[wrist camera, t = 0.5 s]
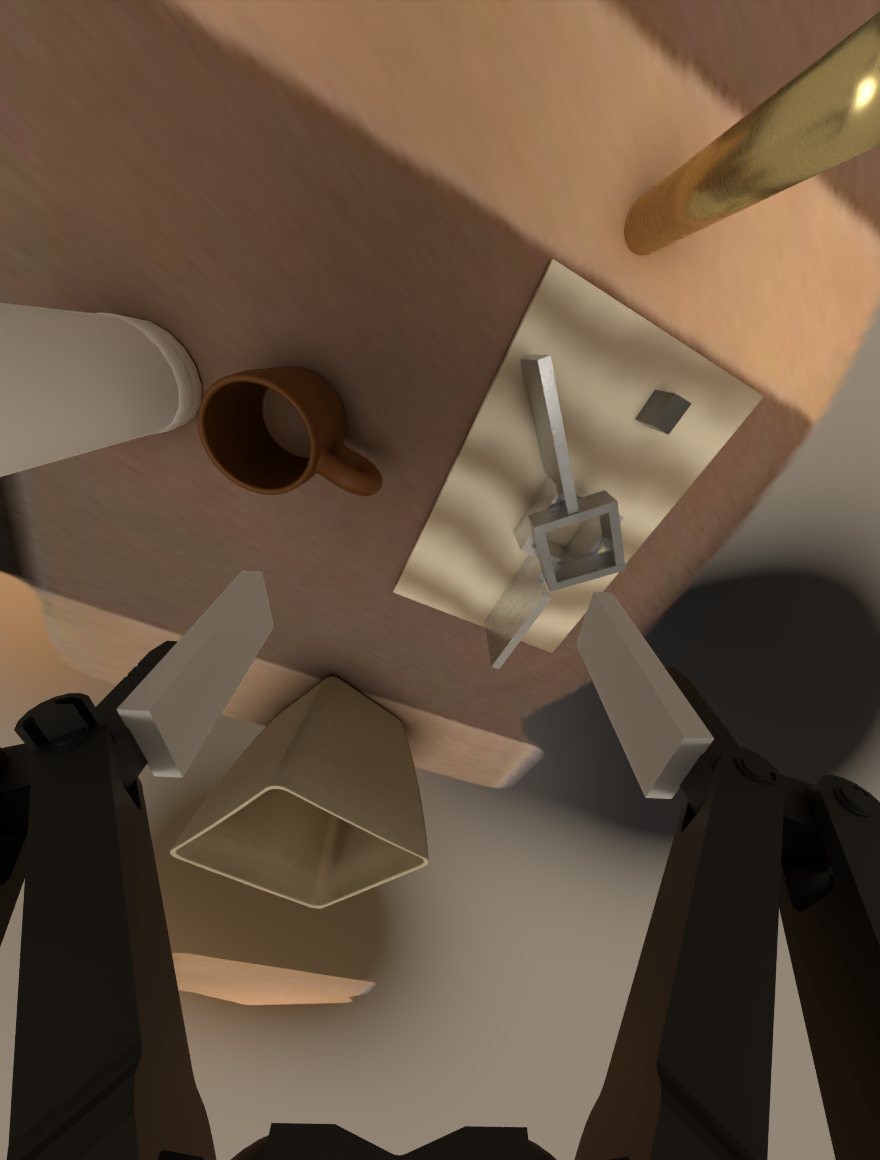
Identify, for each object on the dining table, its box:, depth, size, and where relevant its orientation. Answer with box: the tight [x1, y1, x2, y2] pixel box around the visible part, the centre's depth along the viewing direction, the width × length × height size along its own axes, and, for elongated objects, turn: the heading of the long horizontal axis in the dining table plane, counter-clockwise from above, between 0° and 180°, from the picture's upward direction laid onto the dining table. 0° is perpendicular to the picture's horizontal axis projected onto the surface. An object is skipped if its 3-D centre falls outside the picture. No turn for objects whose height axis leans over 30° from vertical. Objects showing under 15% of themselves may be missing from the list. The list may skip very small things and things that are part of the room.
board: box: [393, 259, 764, 653], centre depth 35 cm, size 30×20×1 cm, turn 155°
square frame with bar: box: [520, 355, 626, 592], centre depth 30 cm, size 17×6×6 cm, turn 20°
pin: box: [624, 12, 880, 255], centre depth 19 cm, size 3×3×16 cm
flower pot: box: [170, 677, 429, 909], centre depth 45 cm, size 19×19×17 cm
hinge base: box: [485, 390, 692, 669], centre depth 33 cm, size 26×6×7 cm, turn 155°
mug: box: [198, 367, 382, 496], centre depth 28 cm, size 12×8×9 cm, turn 62°
